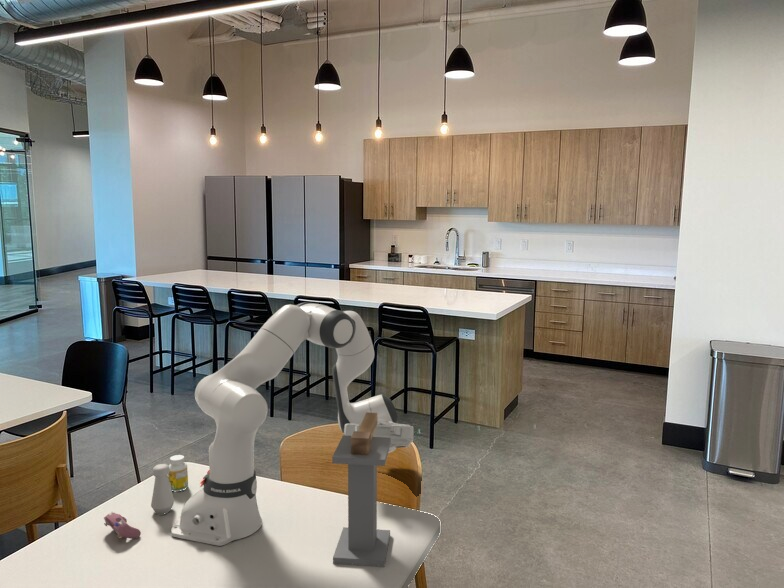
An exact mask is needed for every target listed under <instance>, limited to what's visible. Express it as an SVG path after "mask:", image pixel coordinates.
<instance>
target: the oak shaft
mask: <svg viewBox="0 0 784 588" xmlns="http://www.w3.org/2000/svg"><path fill="white" fill-rule="evenodd" d="M376 426H377V413H368V412H366V414H365V416H364V419H363V421H362V423H361V425H360V428H359V430H358V431H354V432H353V435H352V437H351V454H355V455H369V452H370V449H371V440H372V438H373V435H374V432H375V429H376Z"/></svg>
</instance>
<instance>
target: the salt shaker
mask: <svg viewBox="0 0 784 588" xmlns="http://www.w3.org/2000/svg"><path fill="white" fill-rule="evenodd" d="M169 471H170V468H169V465H168V463H159V464H156V465H155V466H153V468H152V475H153V476H154V484H153V490H152V491H153V492H152V496H151V503H150V507H151V508H152V510H153V511H154V513H155V515H158V514H163V515H165V514H164V513H167V514H169V513H170V512H171V510H172V509H171V508H173V506H174V503H175V499H174V495H173V492H172V490H171V486H170V482H169V478H168V474H169ZM169 511H170V512H169ZM168 512H169V513H168Z"/></svg>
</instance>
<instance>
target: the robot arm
mask: <svg viewBox="0 0 784 588" xmlns="http://www.w3.org/2000/svg"><path fill="white" fill-rule="evenodd" d="M306 340H307V341H309V342H311V343H312V344H315V345H319V346H322V347H323V346H324V347H325V348H326V347H327V348H329V349H335V350H336V354H337V360H336V363H334V365H333V366H332V371H331V372H332V381H333V388H334V394H335V399H336V406H337V422H338V426H339V429H340V431H341V433H343V435H345V436H352V435H353V432H354V431H358V430H359V428H360V425H361V423H362V421H363V419H364V416H365V414H366V412H368V413H377V426H376V429H375V432H374V435H373V437H388V438H391V444H390V448H389V452H388V454H389V453H392V452H394V451H395V450H396V449H397V448H400V449H401V448H409V447H410V445H411V444H412V443H413V442H414V430H415V429H414V426H411V425H410V424H406V423H399V417H398V414H397V409H396V407H395V405H394V403H393V401H392V399H391V398H390V397H388V396H387V395H385V394H384V393H381V394H378V395H374V396H372V397H369V398H367V399H363V400H360V401H355V402H350V400H349V393H348V387H349V385H350V384H351V383H352V382H353V381H354V380H355V379H356V378H358V377H360V375H362V374H364V373H365V372H366V371H367V370H368V369H369V368H370V366H371V365H372V363H373V361H374V359H375V350H374V344H373V340H372V337H371V335H370V332H369V330H368V328H367V326H366V324H365V322H364V320H363V318H362V317H361V315H360V314H359V313H357V312H356V311H354V310H339V309H335V308H333V307H330V306H328V305H325V304H321V303H320V304H319V303H314V302H309V301H307V302H301V303H298V304H290V303H289V304H285V305H283V306H282V307H280V308H279V309H278V310H277V311H276V312H274V314H273V315H271V316H270V317H269V318H268V319H267V320H266V322H264V324H263V325H262V326H261V327H260V329H258V331H257V332H256V333H255V335H254V336H253V337H252V338H251V340H250V341H249V342H248V343H247V344H246V346H245V347H244V348H243V349H242V350H241V351H240V352H239V353H238V354H237V355H236V356H235V357H234V358H233V359H231V360H230V361H229V362H227V363H226V364H225V365H224V366H222V367H220V369H219V370H216V371H215V372H214V373H212V374H208V375H207V376H204V377H203V378H202V379H200V381H198V383H197V384H196V387H195V390H194V398H195V402H196V403H197V406H198V407H199V408H200V409H201V411H202V413H204V414H206V415H208V416H209V417H210V418H212V419H214V422H215V424H216V430H215V435H214V440H213V441H212V442H210V445H209V447H208V461H209V462H208V466H209V469H208V470H207V472H206V474H205V475H204V476H203V478H202V480H201V481H200V483H199V484H200V486H199V487H200V488H201V489H199V490H197V492H195V493H194V494H193V495H191V496H190V497H189V498H188V500H186V502H185V503H184V505H183V507H182V509H181V513H180V515H179V516H178V517H177V519H176V520H175V521H174V522H173V524H172V527H171V529H170V531H171V532H170V533H171V537H173V538H178V539H183V540H188V541H192V542H193V541H194V542H197V543H203V544H208V545H213V546H219V547H221V546H225V545H227V544H229V543H231V542H232V541H233V542H234V541H236V540H240V539H243V538H246V537H248V536H251V535H253V534H254V533H256V532H257V531H258V530H259V529H260V528H261V526H262V524H263V519H262V517H261V514H260V511H259V506H258V502H257V495H256V494H257V488H258V486H257V485H258V484H257V473H256V469H255V456H254V455H255V452H254V451H255V440H256V434H257V431H258V429H259V427H261V426H262V425H263V424H264V422H265V420H266V419H267V416H268V411H269V410H268V403H267V401H266V399H265V398H264V396H263V395H262V394H261V393H260V392H259V391H258V390H257V388H259V387H260V386H261V385H263V384H264V383H266V382H268V381H271V380H273V379H275V378H276V377H277V376H278V375H279V374H280V372H281V371H282V370H283V369H284V368H285V366H286V365H287V364H288V362H289V360H290V359H291V358H292V357H293V356H294V354H295V353H296V351H297V349H298V348H299V347H300V345H301V344H302V343H303V342H304V341H306Z"/></svg>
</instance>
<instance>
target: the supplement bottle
mask: <svg viewBox="0 0 784 588" xmlns="http://www.w3.org/2000/svg"><path fill="white" fill-rule="evenodd" d="M169 463H170V464H169V465H168V466H169V468H170V471H169V474H168V478H169V482H170V486H171V490H173V491H180V490H183V489H185V488H187V487H189V474H188V473H189V471H188V464H187V462H186V461H185V456H184V455H182V454H175V455H172V456H170V457H169ZM187 489H188V488H187Z"/></svg>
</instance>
